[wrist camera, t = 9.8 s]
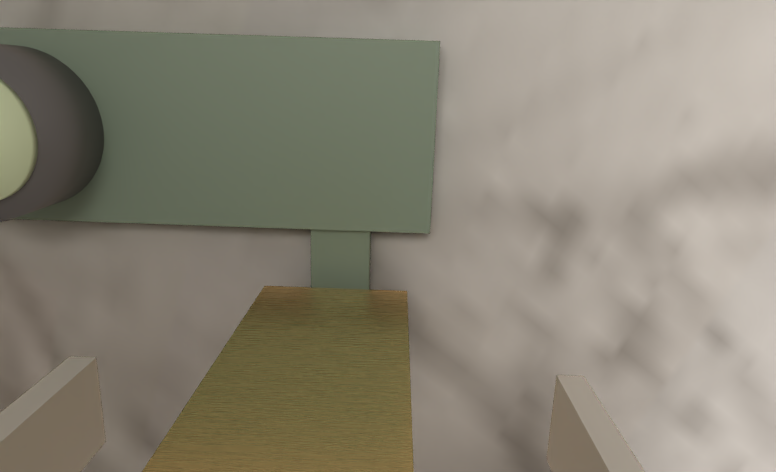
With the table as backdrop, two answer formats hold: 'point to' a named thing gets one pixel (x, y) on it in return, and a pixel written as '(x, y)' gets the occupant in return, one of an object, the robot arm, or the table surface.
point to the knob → (303, 389)
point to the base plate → (222, 134)
